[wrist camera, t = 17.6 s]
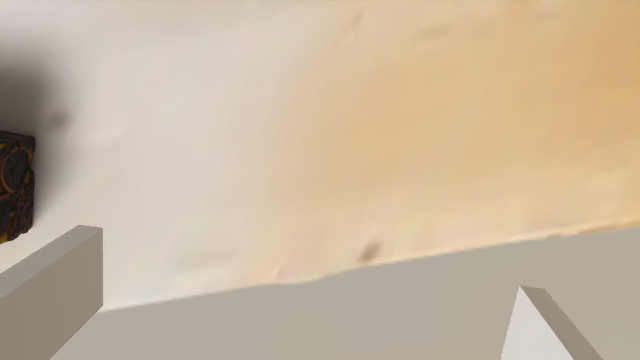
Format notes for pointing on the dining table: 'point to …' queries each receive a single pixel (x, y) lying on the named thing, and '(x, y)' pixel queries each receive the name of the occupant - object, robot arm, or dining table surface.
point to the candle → (15, 184)
